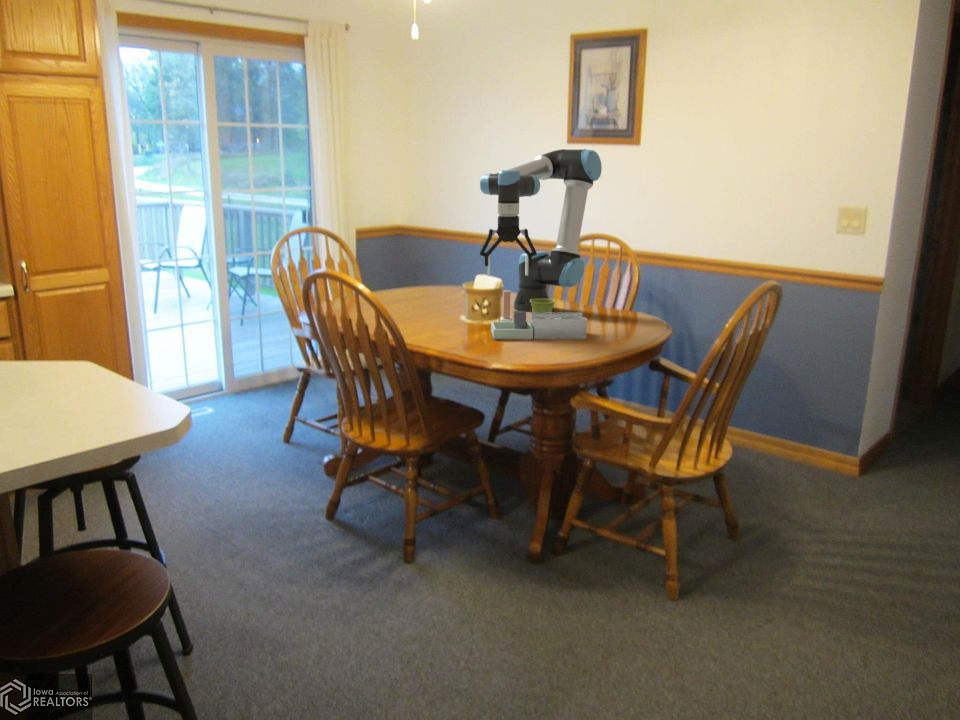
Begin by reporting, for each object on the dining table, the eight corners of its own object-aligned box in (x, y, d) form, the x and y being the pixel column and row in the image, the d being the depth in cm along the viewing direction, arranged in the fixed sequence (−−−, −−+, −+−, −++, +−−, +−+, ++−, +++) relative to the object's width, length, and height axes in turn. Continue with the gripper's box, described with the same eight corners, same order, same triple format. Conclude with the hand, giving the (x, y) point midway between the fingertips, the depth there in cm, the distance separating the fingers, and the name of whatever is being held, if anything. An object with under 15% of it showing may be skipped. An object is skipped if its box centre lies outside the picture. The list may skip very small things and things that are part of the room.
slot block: (530, 331, 286) (530, 312, 284) (580, 331, 287) (581, 312, 285) (534, 339, 274) (534, 319, 272) (586, 339, 275) (587, 319, 273)
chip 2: (526, 333, 281) (514, 333, 281) (526, 322, 280) (515, 322, 280) (527, 335, 277) (516, 335, 277) (528, 324, 276) (516, 324, 276)
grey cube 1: (513, 321, 280) (513, 310, 279) (524, 321, 280) (525, 310, 279) (514, 324, 276) (514, 312, 275) (525, 324, 276) (526, 312, 275)
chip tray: (490, 331, 285) (491, 321, 284) (528, 331, 286) (528, 321, 285) (493, 339, 273) (493, 329, 272) (532, 339, 273) (533, 329, 273)
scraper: (500, 326, 294) (500, 289, 291) (511, 326, 294) (511, 289, 291) (501, 329, 289) (501, 292, 286) (512, 329, 289) (513, 292, 286)
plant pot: (537, 320, 306) (538, 297, 304) (558, 323, 301) (559, 300, 298) (524, 323, 298) (525, 301, 296) (546, 327, 293) (546, 303, 291)
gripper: (473, 216, 277) (473, 277, 283) (545, 216, 279) (543, 276, 284) (472, 214, 285) (472, 273, 290) (542, 214, 286) (541, 273, 292)
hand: (507, 275), depth 287 cm, fingers open, 13 cm apart
